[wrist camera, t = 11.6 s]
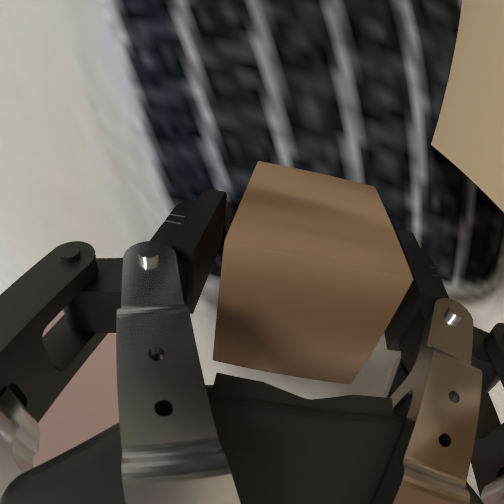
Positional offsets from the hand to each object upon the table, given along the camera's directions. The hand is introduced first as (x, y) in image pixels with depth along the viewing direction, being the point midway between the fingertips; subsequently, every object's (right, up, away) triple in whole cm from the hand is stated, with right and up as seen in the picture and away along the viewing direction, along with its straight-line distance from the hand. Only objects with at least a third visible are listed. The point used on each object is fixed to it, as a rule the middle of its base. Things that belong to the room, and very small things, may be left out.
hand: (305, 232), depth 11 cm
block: (0, 0, 0) cm, 1 cm away
